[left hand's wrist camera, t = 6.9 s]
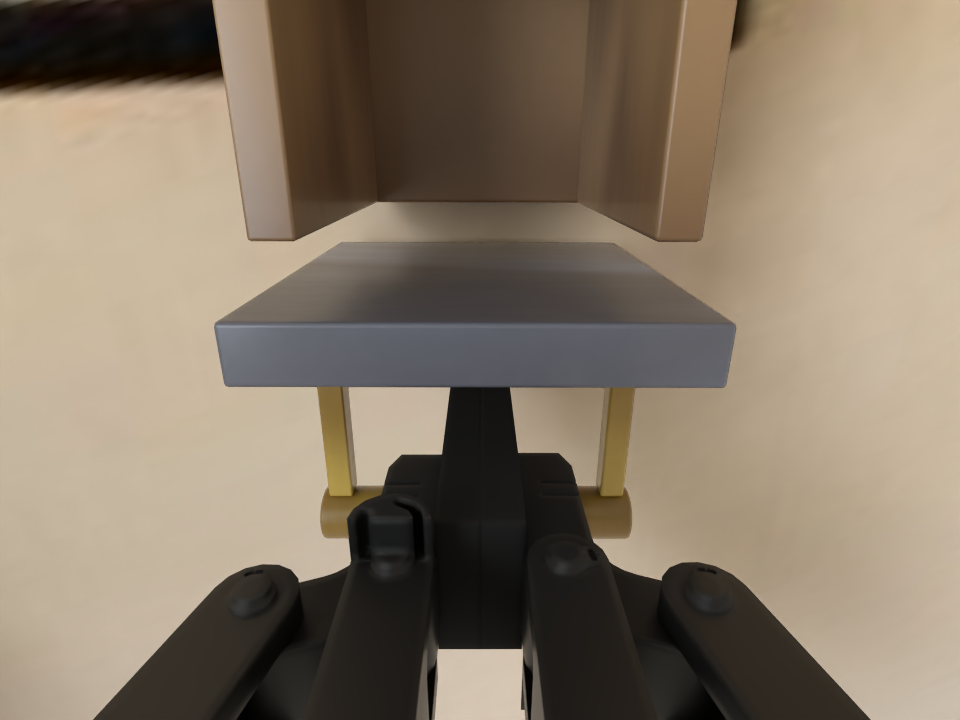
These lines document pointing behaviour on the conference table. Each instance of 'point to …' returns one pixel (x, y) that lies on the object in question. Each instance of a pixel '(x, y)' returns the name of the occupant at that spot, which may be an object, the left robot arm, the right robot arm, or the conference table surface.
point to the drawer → (475, 178)
